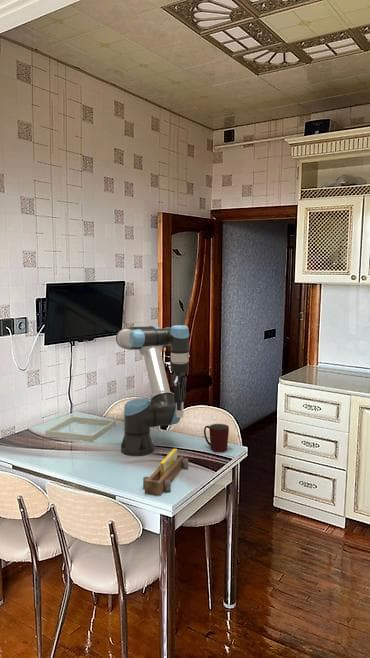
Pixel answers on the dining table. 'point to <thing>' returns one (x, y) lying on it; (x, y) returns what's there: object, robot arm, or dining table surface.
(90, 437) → the tray rim
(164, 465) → the candy box
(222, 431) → the mug
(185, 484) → the dining table surface
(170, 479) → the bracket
